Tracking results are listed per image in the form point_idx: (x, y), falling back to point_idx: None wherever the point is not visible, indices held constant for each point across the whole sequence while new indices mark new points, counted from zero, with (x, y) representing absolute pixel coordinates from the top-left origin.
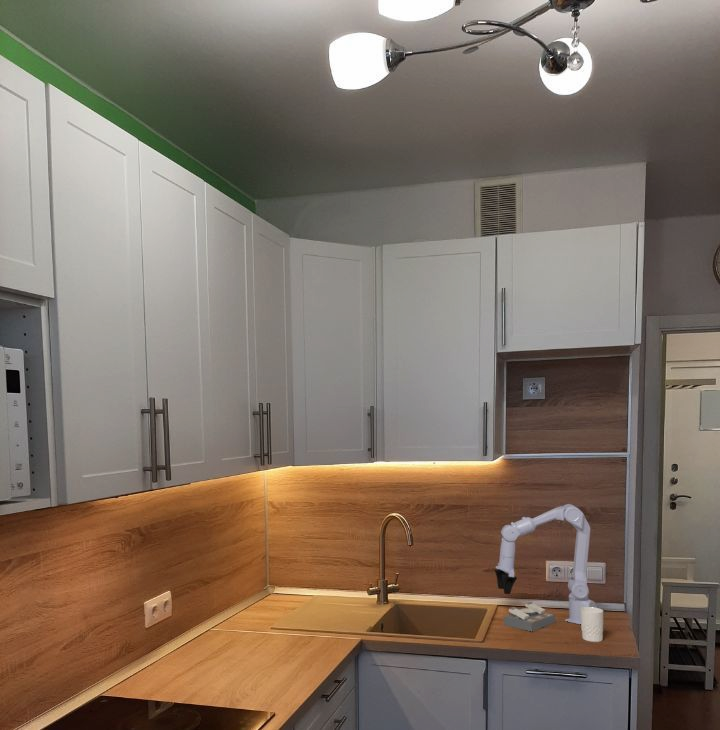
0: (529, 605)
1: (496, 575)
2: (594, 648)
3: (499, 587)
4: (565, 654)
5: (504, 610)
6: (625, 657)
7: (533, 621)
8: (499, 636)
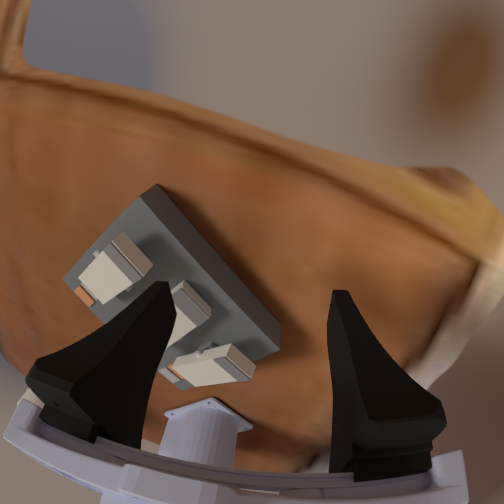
0: (211, 358)
1: (391, 371)
2: (19, 340)
3: (332, 302)
4: None
5: (403, 264)
6: (3, 355)
7: (78, 294)
8: (28, 133)
